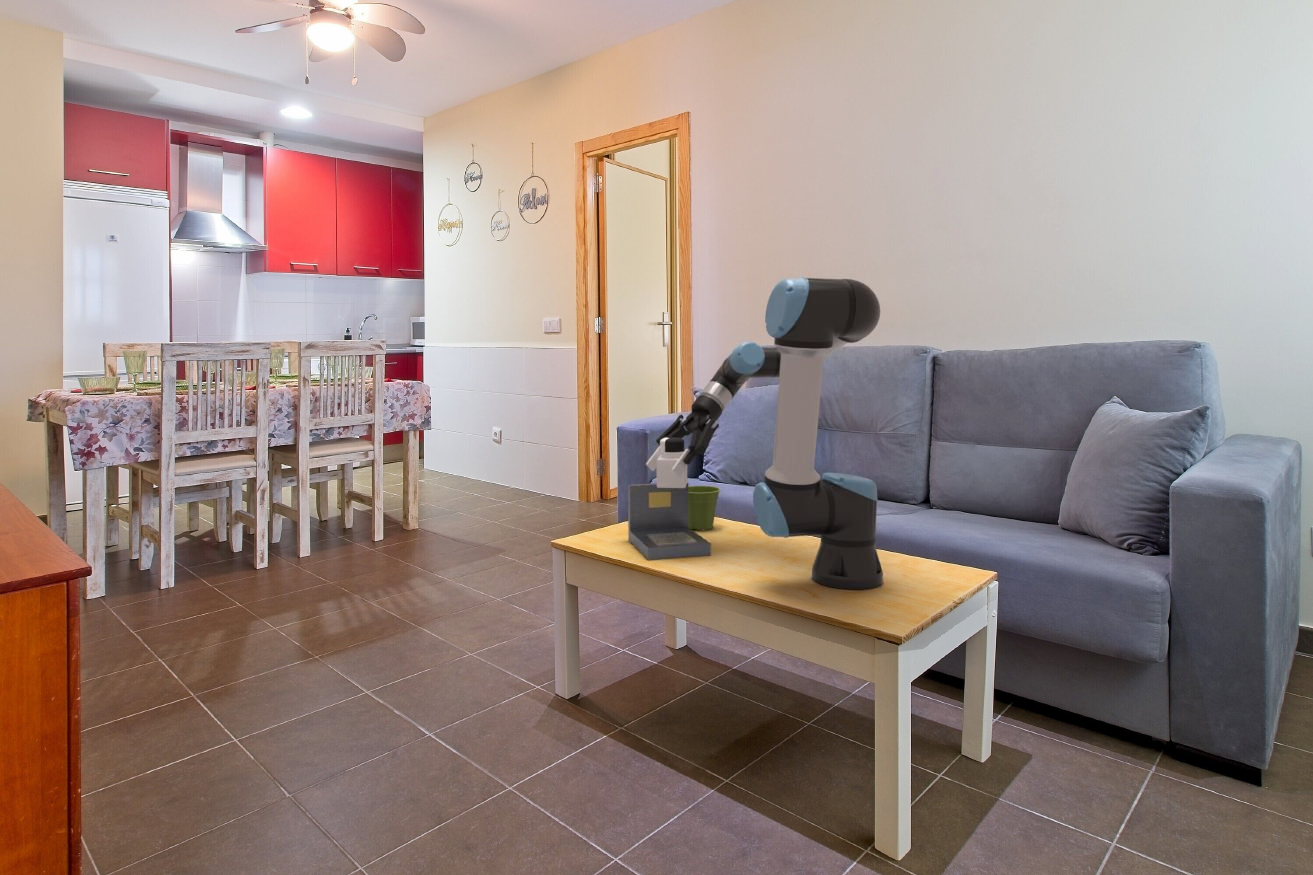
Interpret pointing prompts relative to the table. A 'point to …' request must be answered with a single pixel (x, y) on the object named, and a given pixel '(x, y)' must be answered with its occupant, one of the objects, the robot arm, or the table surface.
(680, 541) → the bookend
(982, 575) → the table surface
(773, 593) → the table surface
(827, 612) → the table surface
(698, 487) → the plant pot
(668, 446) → the medicine bottle
